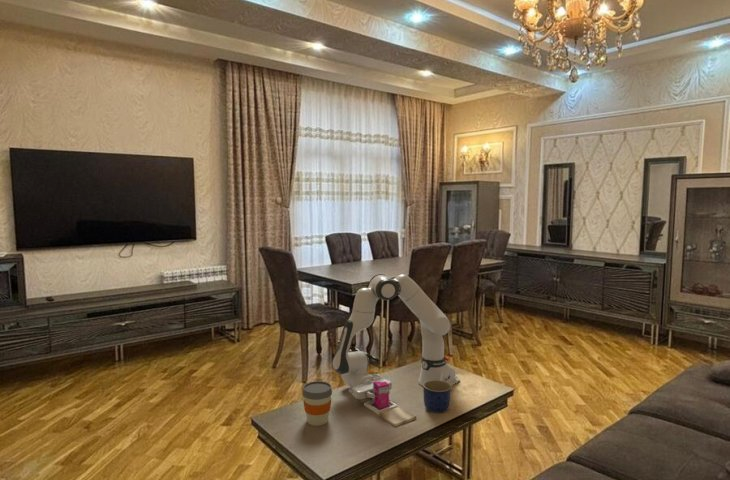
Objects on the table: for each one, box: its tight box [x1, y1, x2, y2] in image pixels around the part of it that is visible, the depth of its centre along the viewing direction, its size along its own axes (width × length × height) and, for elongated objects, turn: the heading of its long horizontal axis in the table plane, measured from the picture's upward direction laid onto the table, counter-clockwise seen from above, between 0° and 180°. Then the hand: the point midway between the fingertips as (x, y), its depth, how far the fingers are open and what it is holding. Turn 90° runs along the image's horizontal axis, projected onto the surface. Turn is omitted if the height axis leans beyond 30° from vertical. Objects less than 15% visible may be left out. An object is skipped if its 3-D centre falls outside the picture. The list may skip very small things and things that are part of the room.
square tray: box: [363, 399, 399, 416], centre depth 205 cm, size 11×11×2 cm
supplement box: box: [372, 380, 390, 410], centre depth 204 cm, size 6×6×12 cm
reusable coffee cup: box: [302, 380, 333, 427], centre depth 191 cm, size 13×13×15 cm
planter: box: [422, 380, 452, 414], centre depth 203 cm, size 12×12×11 cm
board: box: [378, 406, 417, 427], centre depth 195 cm, size 12×11×1 cm
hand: (382, 394), depth 203 cm, fingers closed on supplement box, 6 cm apart
